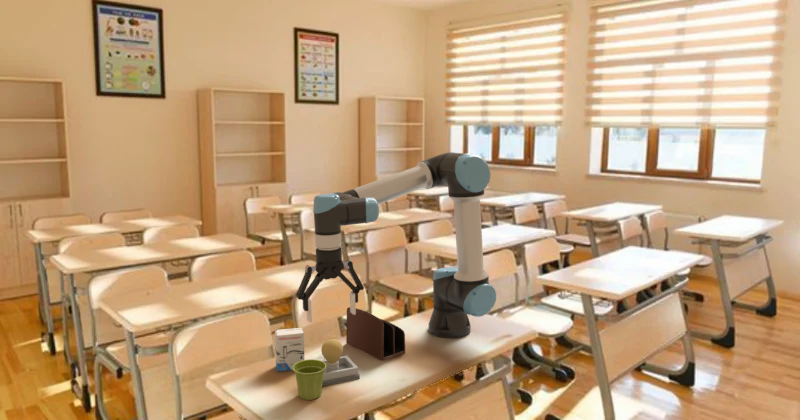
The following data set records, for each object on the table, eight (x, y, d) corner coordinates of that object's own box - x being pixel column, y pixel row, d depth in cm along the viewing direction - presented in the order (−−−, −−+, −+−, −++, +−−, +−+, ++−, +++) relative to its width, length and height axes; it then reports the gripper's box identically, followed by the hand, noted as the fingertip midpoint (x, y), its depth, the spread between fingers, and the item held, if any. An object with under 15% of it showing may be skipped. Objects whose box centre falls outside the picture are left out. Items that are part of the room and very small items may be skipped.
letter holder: (382, 361, 191) (381, 319, 189) (345, 344, 206) (344, 304, 204) (405, 353, 198) (405, 312, 195) (369, 337, 213) (368, 298, 210)
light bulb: (339, 376, 178) (338, 344, 176) (319, 375, 179) (318, 343, 178) (345, 367, 184) (345, 336, 182) (326, 366, 185) (325, 335, 184)
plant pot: (328, 387, 174) (327, 358, 172) (325, 402, 164) (324, 372, 163) (296, 388, 173) (294, 359, 172) (291, 403, 164) (290, 373, 163)
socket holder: (346, 363, 190) (345, 354, 189) (359, 378, 179) (359, 368, 179) (305, 371, 184) (305, 361, 184) (317, 387, 174) (317, 377, 173)
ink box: (277, 372, 184) (275, 335, 182) (275, 365, 189) (274, 329, 187) (305, 368, 186) (303, 332, 184) (303, 362, 191) (302, 327, 189)
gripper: (363, 240, 184) (366, 306, 187) (283, 249, 174) (287, 320, 177) (373, 244, 177) (375, 313, 181) (289, 255, 167) (293, 328, 171)
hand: (331, 317), depth 179 cm, fingers open, 13 cm apart
